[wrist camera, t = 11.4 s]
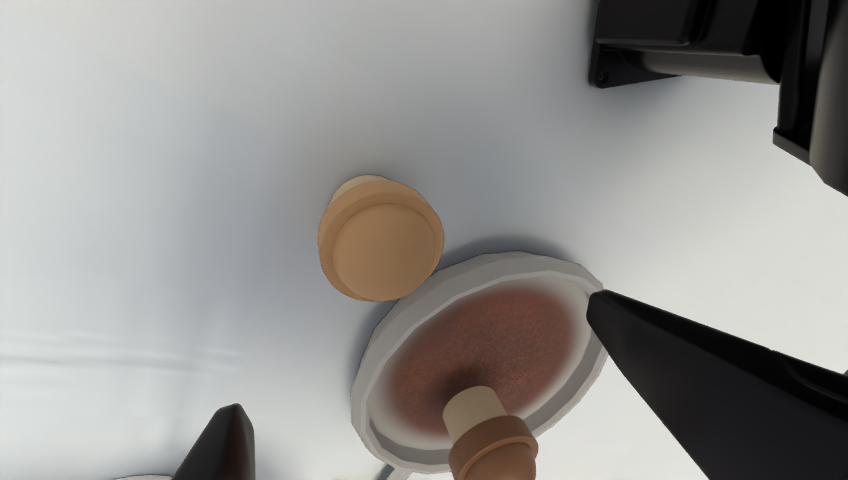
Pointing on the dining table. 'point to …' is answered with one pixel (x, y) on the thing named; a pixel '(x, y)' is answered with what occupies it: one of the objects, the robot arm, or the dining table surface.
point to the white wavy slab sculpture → (147, 477)
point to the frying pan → (476, 354)
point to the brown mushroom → (488, 439)
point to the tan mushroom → (378, 239)
